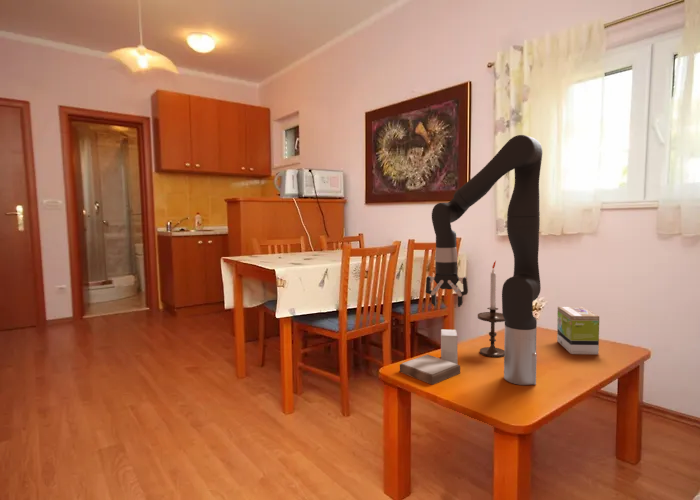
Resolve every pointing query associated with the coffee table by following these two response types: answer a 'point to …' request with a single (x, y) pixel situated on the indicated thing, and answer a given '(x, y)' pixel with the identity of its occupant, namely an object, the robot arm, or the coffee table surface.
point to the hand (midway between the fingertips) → (446, 306)
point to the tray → (430, 369)
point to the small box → (449, 345)
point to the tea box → (578, 330)
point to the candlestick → (492, 320)
